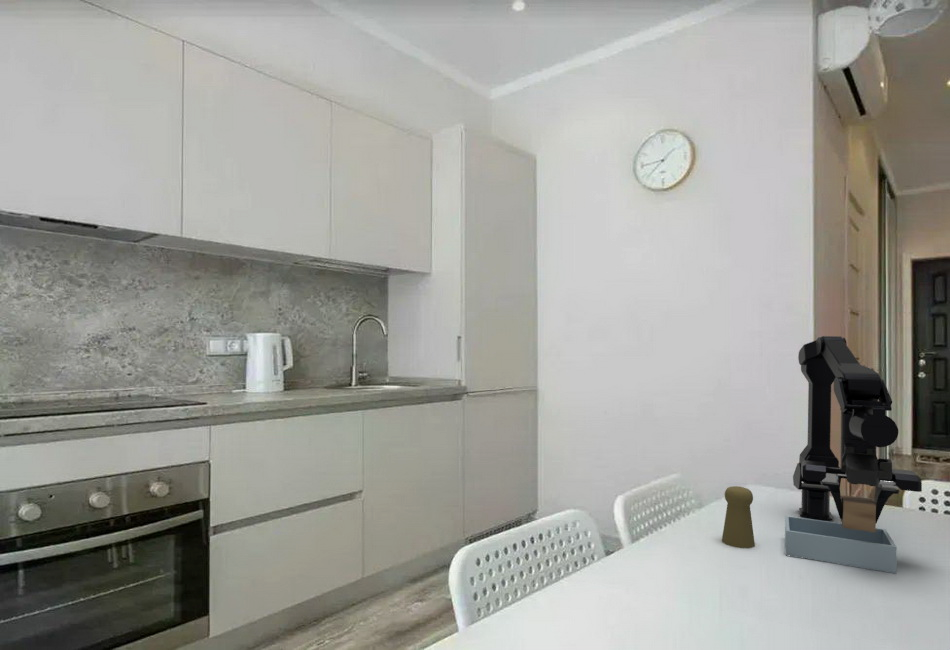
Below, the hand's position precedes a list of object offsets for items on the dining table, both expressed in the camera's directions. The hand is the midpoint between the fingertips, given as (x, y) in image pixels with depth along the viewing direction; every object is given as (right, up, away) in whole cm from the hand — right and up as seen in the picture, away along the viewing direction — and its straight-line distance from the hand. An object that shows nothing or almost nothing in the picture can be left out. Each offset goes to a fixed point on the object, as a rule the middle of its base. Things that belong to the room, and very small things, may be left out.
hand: (857, 520), depth 112 cm
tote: (-4, -7, +1) cm, 8 cm away
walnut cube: (0, -1, 0) cm, 1 cm away
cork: (-20, -7, +6) cm, 22 cm away
